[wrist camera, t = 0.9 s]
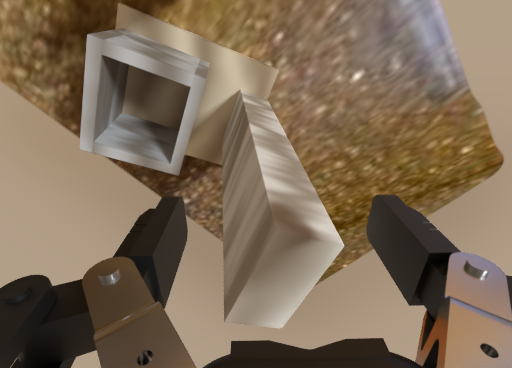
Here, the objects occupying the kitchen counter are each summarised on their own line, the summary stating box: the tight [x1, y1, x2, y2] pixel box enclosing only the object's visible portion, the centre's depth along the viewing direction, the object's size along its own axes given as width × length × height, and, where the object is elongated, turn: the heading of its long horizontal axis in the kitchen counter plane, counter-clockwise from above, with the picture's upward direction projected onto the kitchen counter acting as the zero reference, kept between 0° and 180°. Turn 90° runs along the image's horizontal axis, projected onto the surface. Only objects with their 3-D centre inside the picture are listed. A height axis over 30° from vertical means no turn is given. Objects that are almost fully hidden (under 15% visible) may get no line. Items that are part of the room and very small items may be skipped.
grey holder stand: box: [79, 3, 344, 328], centre depth 25 cm, size 20×16×30 cm
